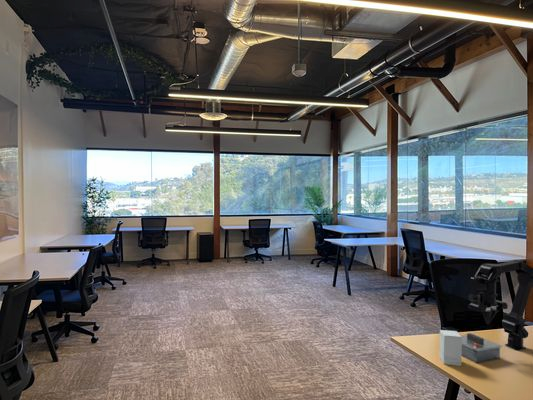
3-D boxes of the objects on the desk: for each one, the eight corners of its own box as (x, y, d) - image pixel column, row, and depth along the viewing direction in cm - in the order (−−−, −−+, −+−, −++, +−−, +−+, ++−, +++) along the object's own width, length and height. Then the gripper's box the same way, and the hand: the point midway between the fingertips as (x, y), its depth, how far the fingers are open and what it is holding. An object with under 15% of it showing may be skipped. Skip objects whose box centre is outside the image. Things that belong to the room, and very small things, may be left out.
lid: (473, 335, 178) (473, 329, 178) (501, 347, 165) (501, 340, 165) (450, 339, 173) (450, 332, 173) (477, 351, 160) (477, 344, 160)
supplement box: (461, 366, 157) (462, 337, 157) (443, 364, 158) (443, 335, 158) (456, 358, 164) (457, 330, 164) (438, 357, 166) (439, 329, 165)
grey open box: (472, 346, 178) (472, 336, 178) (499, 358, 165) (499, 347, 165) (450, 350, 173) (450, 339, 173) (476, 363, 160) (477, 351, 160)
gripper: (487, 285, 184) (486, 316, 184) (459, 288, 177) (458, 320, 177) (508, 291, 173) (507, 324, 173) (480, 294, 167) (479, 328, 167)
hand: (487, 324), depth 173 cm, fingers closed
